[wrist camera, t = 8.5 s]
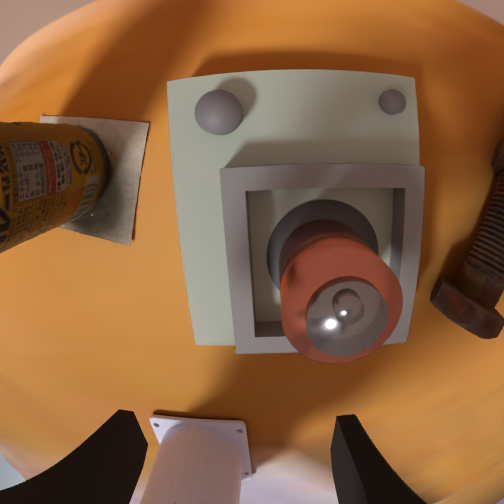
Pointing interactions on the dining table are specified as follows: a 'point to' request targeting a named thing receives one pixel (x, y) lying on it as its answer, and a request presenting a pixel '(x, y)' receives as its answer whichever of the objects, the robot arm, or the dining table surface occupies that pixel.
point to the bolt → (479, 271)
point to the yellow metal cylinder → (69, 177)
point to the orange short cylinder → (335, 293)
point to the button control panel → (288, 186)
